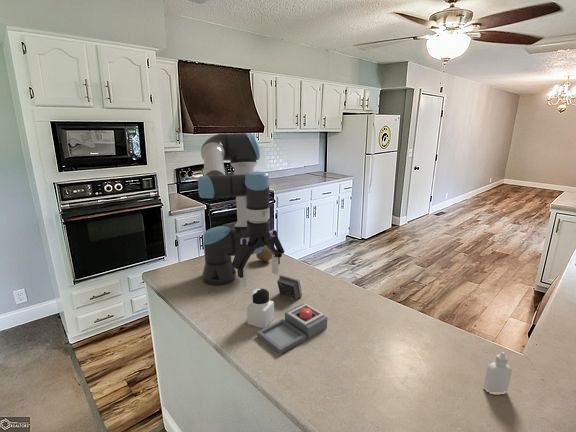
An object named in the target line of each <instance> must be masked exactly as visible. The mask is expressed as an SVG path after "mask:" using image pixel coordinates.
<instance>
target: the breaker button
mask: <svg viewBox="0 0 576 432" xmlns="http://www.w3.org/2000/svg"><path fill="white" fill-rule="evenodd" d="M299 317H300V318H301V319H303V320H305V321H307V320H309V319H311V318H312V310H311V309H309V308H302V309H300V311H299Z"/></svg>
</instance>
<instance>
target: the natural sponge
mask: <svg viewBox="0 0 576 432" xmlns="http://www.w3.org/2000/svg"><path fill="white" fill-rule="evenodd" d="M272 255H274V254H273V253H272V252H271V251H270V250H269V249H268V248H267V246H266V245H265V246H264V247H263V250H262V251H261V252H260V253H257V254H255V256H256V258H257V259H258V260H260V261H263V262H266V263H267V262H269V261H270V260H272ZM274 256H275V255H274Z"/></svg>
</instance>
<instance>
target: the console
mask: <svg viewBox="0 0 576 432" xmlns="http://www.w3.org/2000/svg"><path fill="white" fill-rule="evenodd" d="M302 308H309V309H311V310H312V318H311V319H309V320H307V321H305V320H303V319H301V318H300V317H299V311H300V309H302ZM326 329H328V317H327V316H326V315H325V314H324V313H323V312H321V311H319V310H317V309H316V308H314V307H313V306H311V305H309V304H307V303H302V304H299V305H296V306H295V307H293V308H291V309H289V310H287V311H285V312H284V318H281V319H280V320H278V321H276V322H273V323H271V324H269V325H268V326H267V327H266V328H264V329H263V328H261V329H260V330H258V331H257V332H256V335H257V336H256V337H257V338H259V340H261V341H262V342H264V343H265V344H266V345H268V346H269V347H270V348H271V349H273V350H274V351H275V352H276V353H277V354H279V355H280V356H282V355H283V354H285V353H286V352H288V351H290V350H291V349H293V348H295V347H297V346H298V345H300V344H302V343H303V342H305V341H307V339H310V338H312V337H314V336H315V335H317V334H319V333H320V332H322V331H324V330H326Z"/></svg>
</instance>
